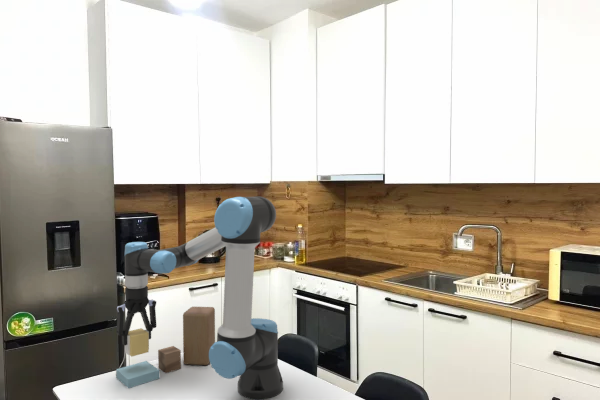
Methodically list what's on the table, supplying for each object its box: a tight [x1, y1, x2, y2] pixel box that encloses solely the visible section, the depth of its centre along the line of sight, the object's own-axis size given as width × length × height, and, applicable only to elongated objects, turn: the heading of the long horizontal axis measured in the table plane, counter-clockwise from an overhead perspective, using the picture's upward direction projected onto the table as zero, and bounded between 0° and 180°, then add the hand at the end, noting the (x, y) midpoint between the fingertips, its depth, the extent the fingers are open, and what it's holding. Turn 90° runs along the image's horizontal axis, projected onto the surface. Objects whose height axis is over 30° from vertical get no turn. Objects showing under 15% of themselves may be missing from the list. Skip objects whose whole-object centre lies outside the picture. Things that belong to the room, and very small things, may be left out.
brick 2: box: [157, 345, 182, 374], centre depth 162 cm, size 6×6×7 cm
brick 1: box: [128, 328, 150, 358], centre depth 154 cm, size 6×6×7 cm
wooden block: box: [182, 306, 216, 366], centre depth 169 cm, size 10×10×20 cm
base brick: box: [115, 360, 160, 389], centre depth 154 cm, size 11×11×3 cm
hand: (137, 350), depth 154 cm, fingers closed on brick 1, 6 cm apart
